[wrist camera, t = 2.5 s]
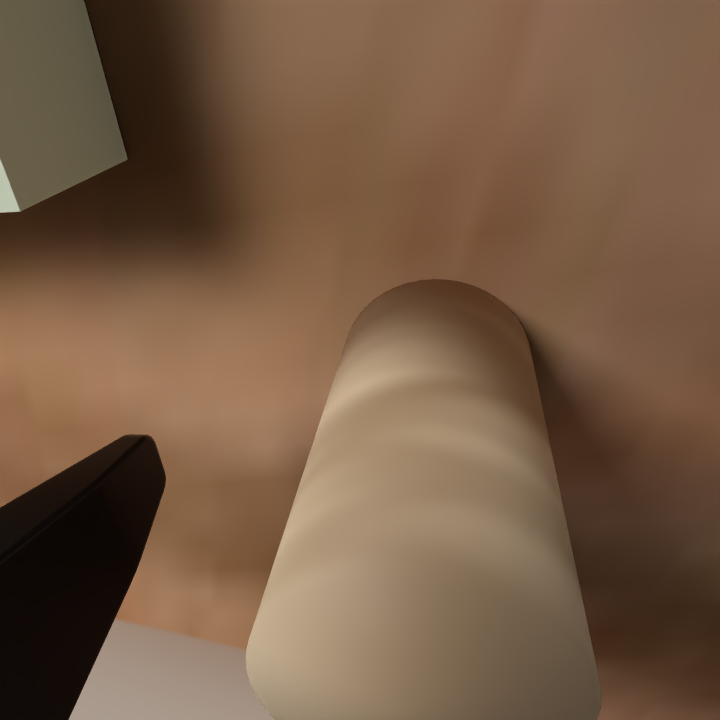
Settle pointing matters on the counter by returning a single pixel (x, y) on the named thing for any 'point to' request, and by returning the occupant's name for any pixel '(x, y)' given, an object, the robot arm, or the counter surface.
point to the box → (51, 102)
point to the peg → (427, 533)
